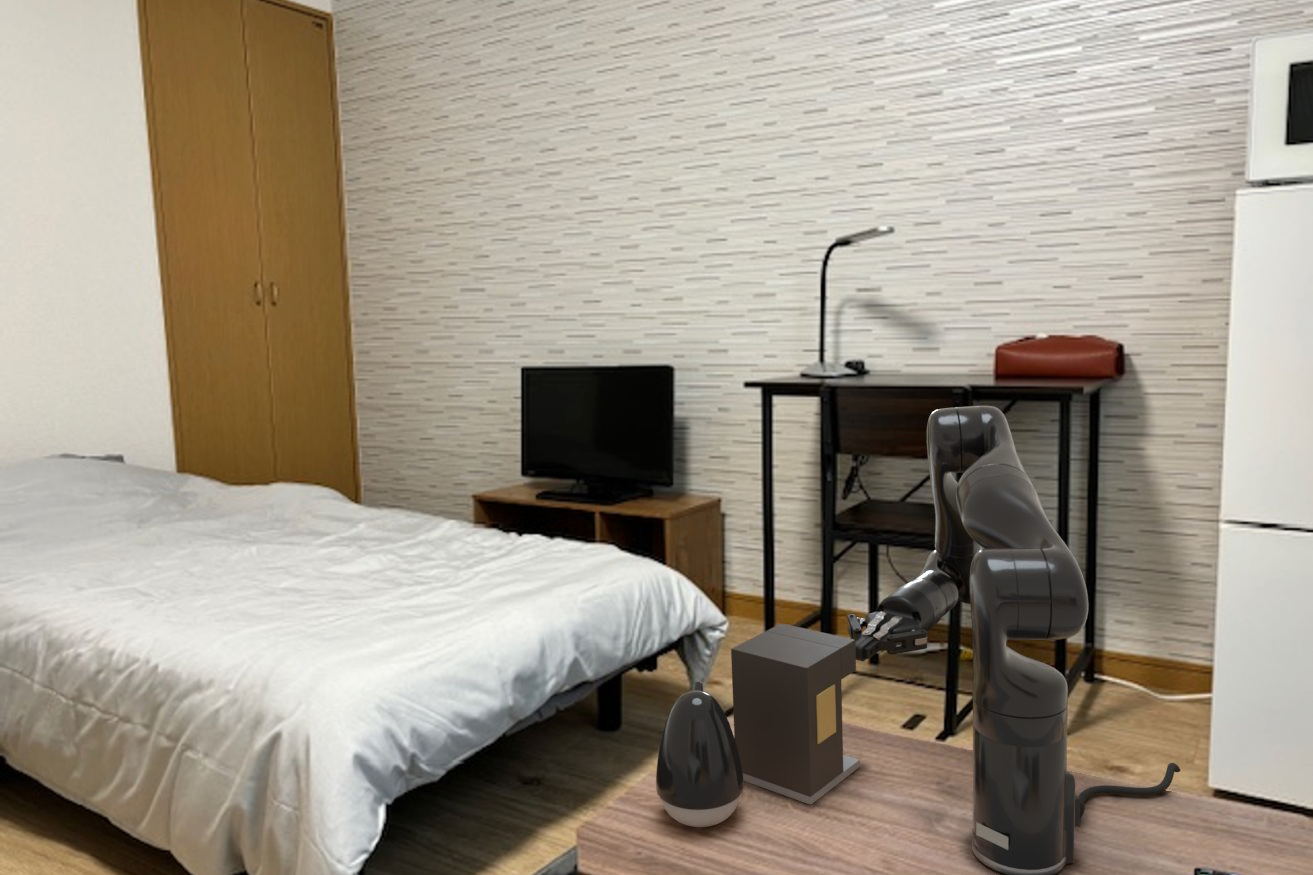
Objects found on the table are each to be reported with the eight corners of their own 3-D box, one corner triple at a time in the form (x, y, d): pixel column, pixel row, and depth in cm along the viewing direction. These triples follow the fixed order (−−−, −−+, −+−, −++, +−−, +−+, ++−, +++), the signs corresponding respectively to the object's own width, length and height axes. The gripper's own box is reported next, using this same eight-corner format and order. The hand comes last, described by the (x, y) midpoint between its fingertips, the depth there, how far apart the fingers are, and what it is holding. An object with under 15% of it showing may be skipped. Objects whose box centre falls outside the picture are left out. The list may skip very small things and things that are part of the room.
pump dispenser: (745, 792, 120) (740, 673, 118) (744, 839, 110) (739, 710, 108) (661, 791, 121) (656, 674, 119) (653, 838, 111) (646, 711, 109)
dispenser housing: (787, 743, 132) (783, 621, 130) (861, 767, 125) (858, 638, 123) (735, 777, 124) (730, 648, 121) (812, 805, 117) (808, 668, 114)
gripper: (871, 579, 152) (814, 618, 139) (954, 595, 144) (901, 638, 131) (872, 624, 153) (815, 668, 140) (954, 643, 145) (902, 690, 132)
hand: (857, 653), depth 136 cm, fingers closed
